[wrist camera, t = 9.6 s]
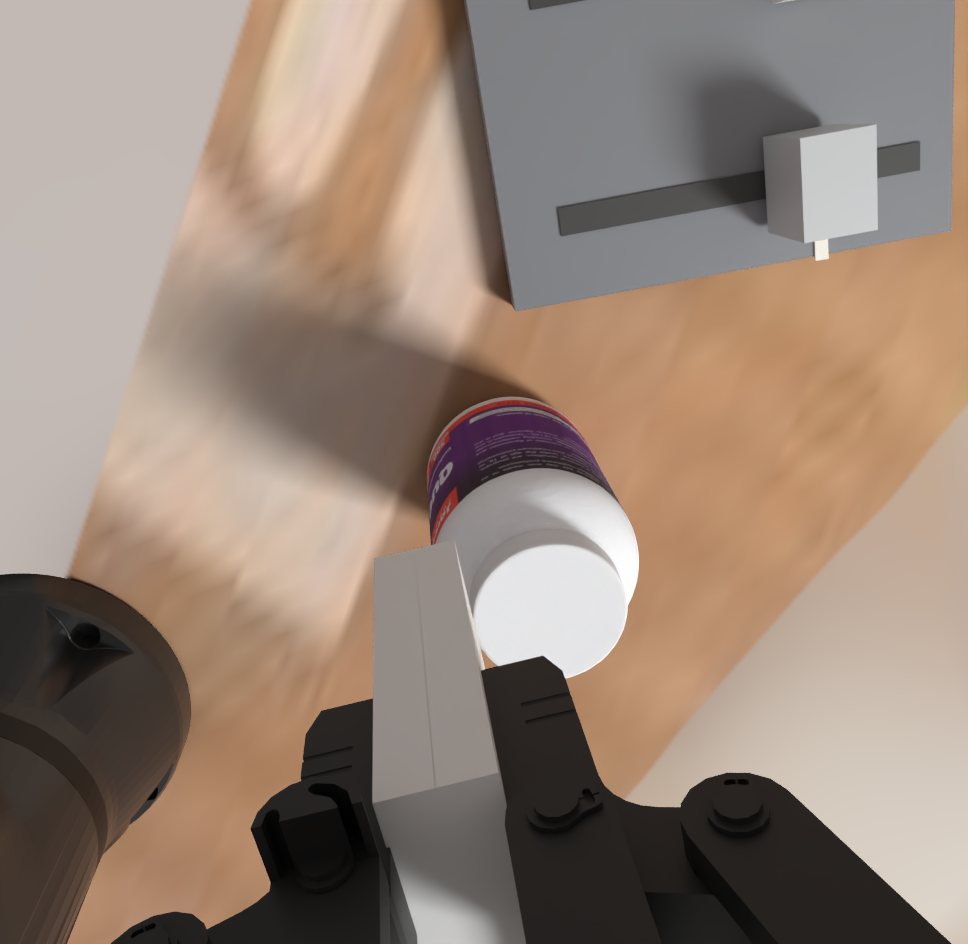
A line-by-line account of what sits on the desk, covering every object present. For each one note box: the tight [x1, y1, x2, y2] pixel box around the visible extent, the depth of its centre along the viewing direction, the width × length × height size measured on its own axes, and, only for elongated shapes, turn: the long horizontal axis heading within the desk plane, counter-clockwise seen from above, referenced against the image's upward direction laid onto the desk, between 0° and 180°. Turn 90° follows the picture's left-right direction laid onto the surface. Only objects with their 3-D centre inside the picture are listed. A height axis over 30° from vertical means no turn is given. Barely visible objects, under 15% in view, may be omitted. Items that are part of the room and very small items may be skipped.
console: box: [464, 0, 955, 311], centre depth 39 cm, size 20×16×2 cm
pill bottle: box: [427, 397, 639, 678], centre depth 39 cm, size 8×8×14 cm
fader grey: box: [763, 124, 878, 243], centre depth 38 cm, size 3×4×4 cm
